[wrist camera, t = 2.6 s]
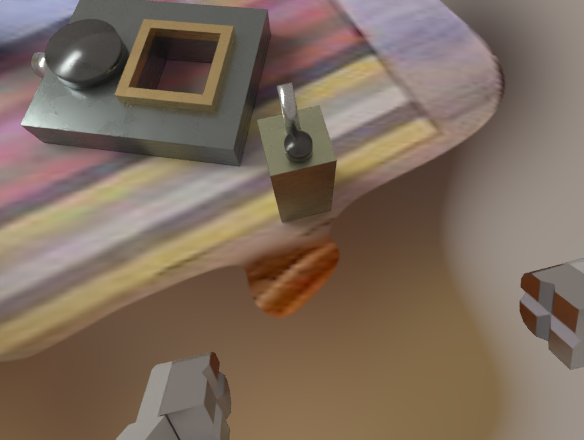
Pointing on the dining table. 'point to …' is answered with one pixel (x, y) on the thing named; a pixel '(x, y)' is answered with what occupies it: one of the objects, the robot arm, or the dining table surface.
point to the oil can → (298, 158)
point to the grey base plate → (150, 79)
